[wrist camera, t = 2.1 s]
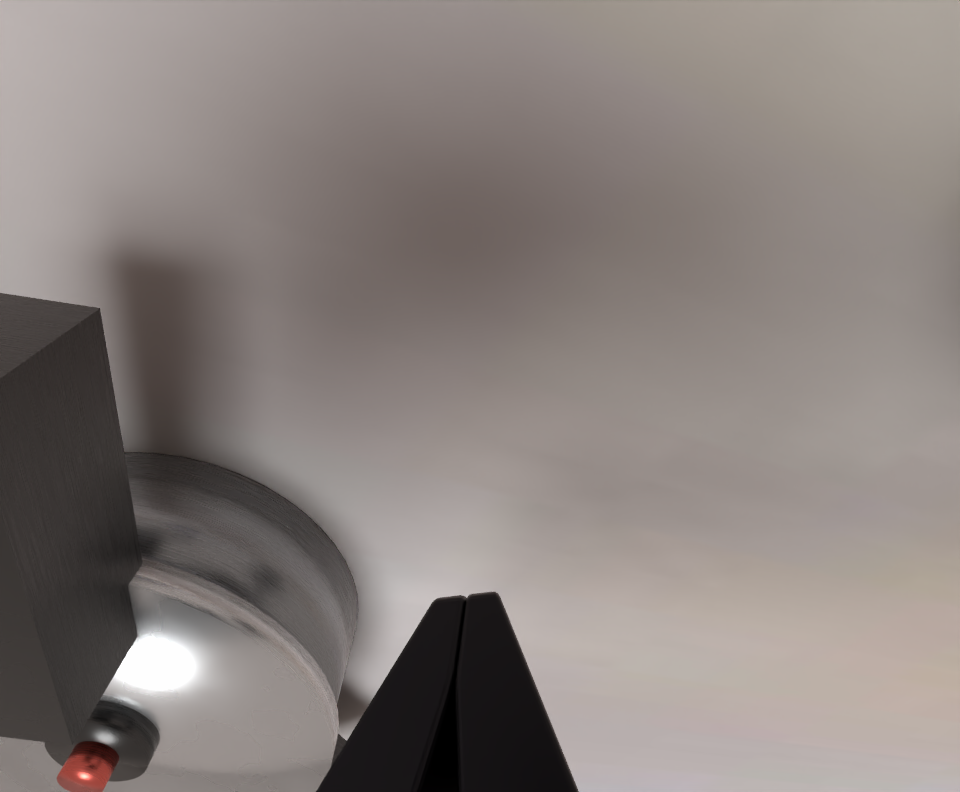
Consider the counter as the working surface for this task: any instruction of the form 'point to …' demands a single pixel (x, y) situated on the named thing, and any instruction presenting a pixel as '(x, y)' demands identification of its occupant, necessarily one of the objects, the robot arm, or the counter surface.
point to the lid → (123, 608)
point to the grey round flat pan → (248, 551)
